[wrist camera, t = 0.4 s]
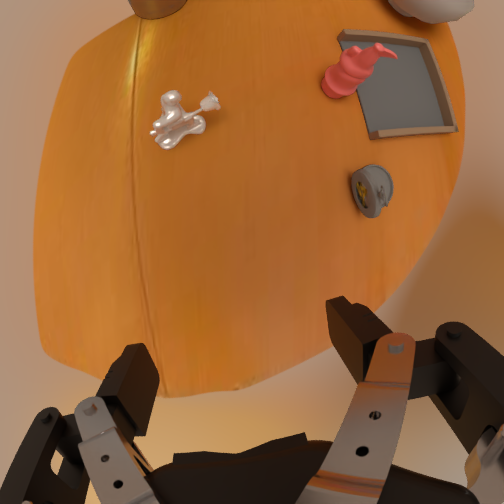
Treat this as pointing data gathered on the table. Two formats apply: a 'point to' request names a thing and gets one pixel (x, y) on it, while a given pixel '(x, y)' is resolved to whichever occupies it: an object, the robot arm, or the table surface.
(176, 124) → the figurine
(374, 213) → the pocket watch
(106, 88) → the table surface
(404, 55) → the tray
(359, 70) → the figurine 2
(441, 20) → the vase
